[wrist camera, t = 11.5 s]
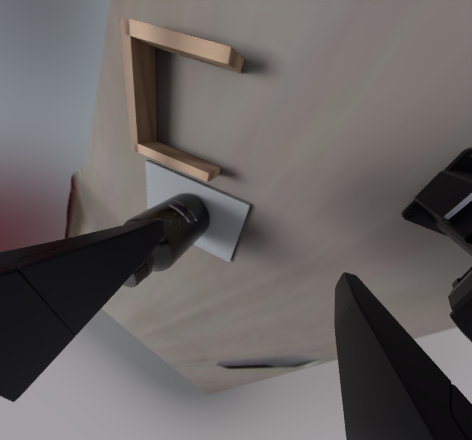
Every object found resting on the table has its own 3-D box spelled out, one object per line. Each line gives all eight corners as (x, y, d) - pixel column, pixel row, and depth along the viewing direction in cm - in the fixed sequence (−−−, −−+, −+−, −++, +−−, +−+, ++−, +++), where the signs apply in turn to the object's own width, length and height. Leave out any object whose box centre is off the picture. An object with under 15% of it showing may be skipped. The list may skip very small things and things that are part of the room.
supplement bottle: (209, 194, 23) (133, 250, 13) (213, 236, 26) (154, 305, 16) (167, 188, 25) (75, 231, 15) (176, 228, 28) (105, 284, 18)
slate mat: (250, 204, 22) (249, 205, 21) (230, 260, 28) (229, 262, 27) (148, 159, 24) (145, 160, 24) (150, 220, 30) (148, 221, 30)
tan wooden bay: (244, 58, 15) (231, 46, 13) (219, 175, 21) (207, 181, 19) (147, 31, 17) (119, 16, 14) (150, 146, 23) (131, 149, 21)
